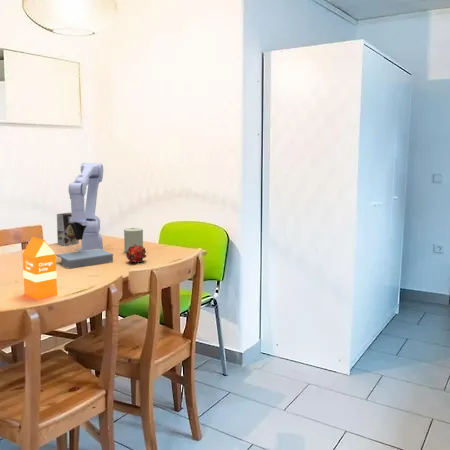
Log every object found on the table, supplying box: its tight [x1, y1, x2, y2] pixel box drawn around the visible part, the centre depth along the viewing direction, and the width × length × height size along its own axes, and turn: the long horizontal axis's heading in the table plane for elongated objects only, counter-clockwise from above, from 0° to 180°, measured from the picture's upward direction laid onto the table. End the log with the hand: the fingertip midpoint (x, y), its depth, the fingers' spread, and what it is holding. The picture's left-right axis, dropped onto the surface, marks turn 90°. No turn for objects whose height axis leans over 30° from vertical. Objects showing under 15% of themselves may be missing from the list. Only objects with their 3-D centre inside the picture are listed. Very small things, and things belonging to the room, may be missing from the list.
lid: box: [55, 247, 114, 262], centre depth 218 cm, size 20×14×3 cm
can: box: [123, 227, 144, 255], centre depth 238 cm, size 9×9×12 cm
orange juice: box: [21, 236, 58, 300], centre depth 170 cm, size 8×9×20 cm
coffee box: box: [56, 212, 80, 247], centre depth 257 cm, size 9×6×16 cm
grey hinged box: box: [60, 254, 114, 269], centre depth 217 cm, size 20×9×3 cm, turn 130°
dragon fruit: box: [125, 244, 147, 264], centre depth 219 cm, size 8×8×12 cm
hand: (79, 239), depth 222 cm, fingers closed
